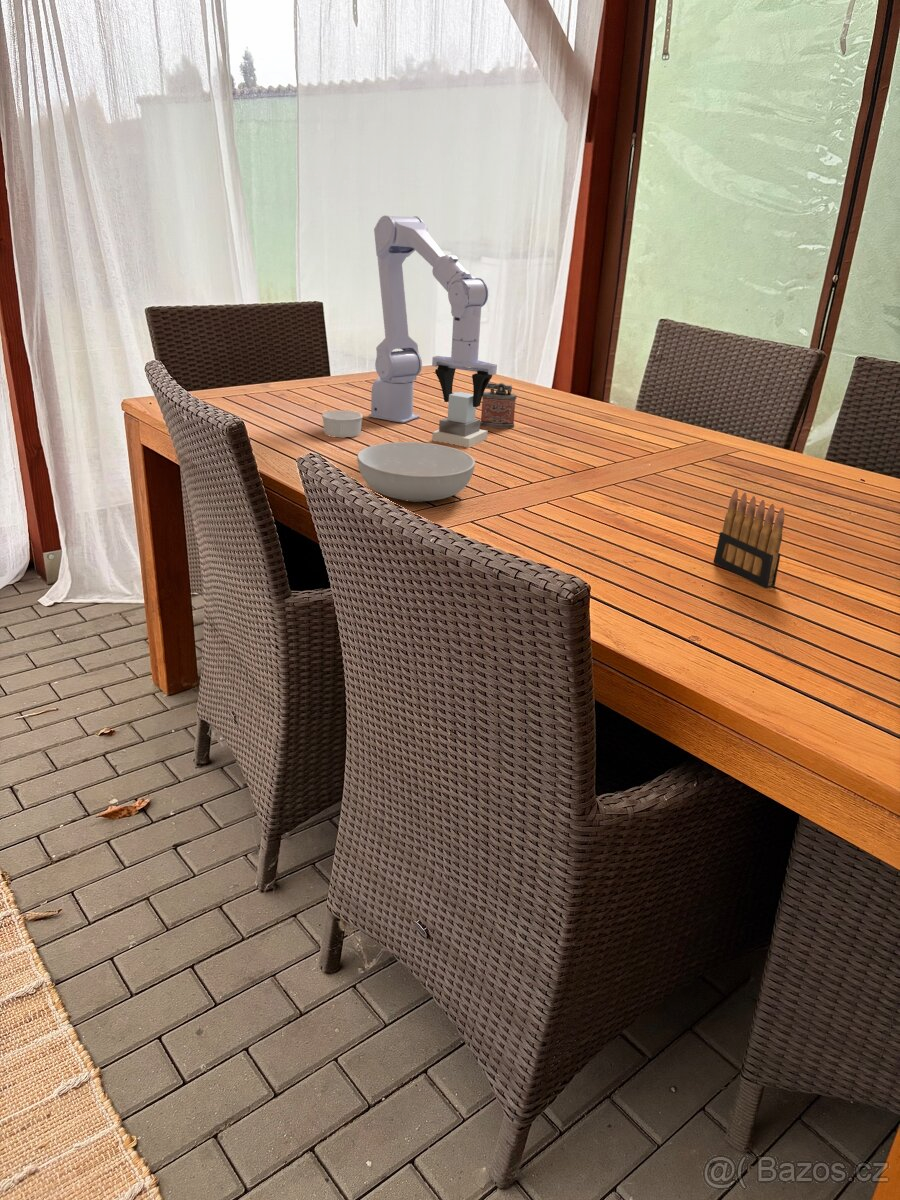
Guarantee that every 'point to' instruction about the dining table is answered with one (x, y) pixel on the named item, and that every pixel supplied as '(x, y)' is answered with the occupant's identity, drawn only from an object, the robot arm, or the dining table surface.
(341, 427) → the ramekin
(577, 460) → the dining table surface
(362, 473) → the serving bowl
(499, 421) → the lighter
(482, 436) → the base slab
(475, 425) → the gray slab
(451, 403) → the gray block
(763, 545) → the ammunition clip
